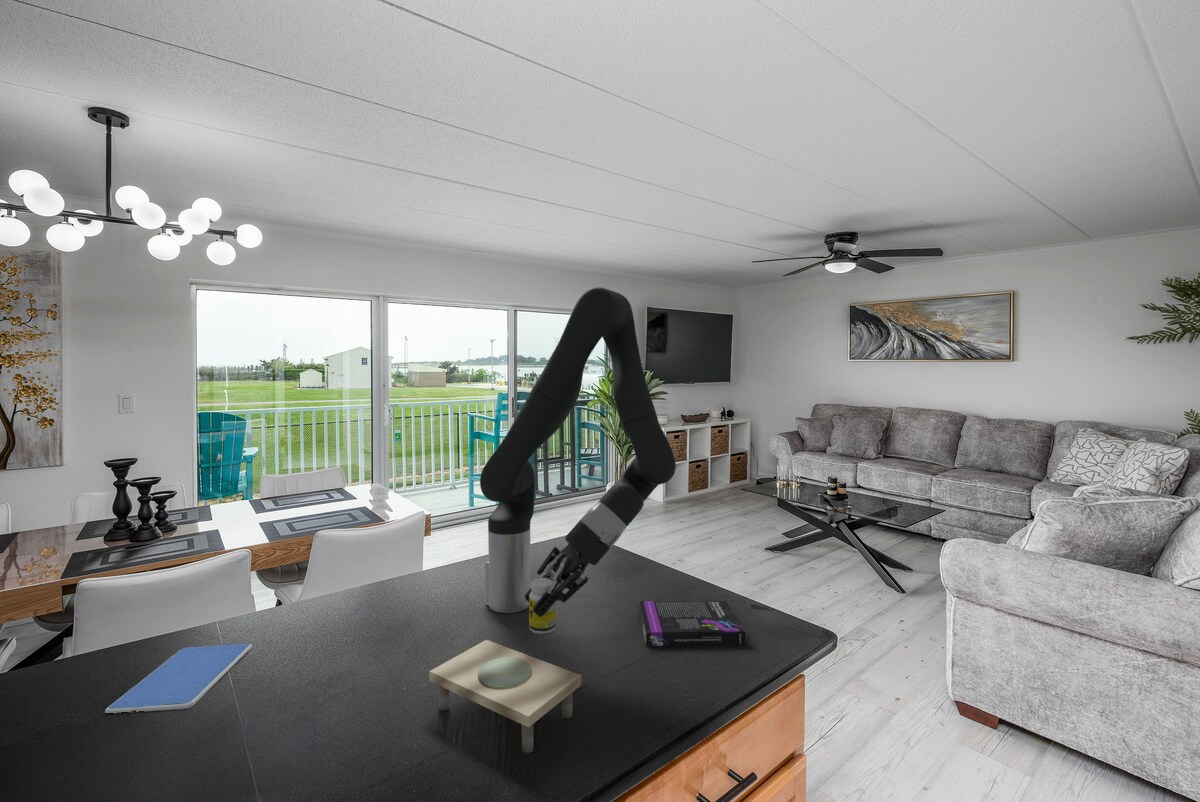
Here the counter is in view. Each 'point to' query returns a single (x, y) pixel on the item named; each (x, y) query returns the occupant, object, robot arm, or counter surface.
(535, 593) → the supplement bottle
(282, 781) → the counter surface
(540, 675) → the shelf stand
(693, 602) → the box
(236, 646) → the tablet computer
